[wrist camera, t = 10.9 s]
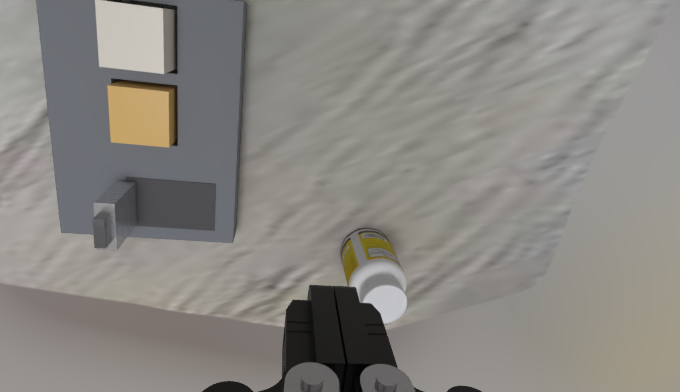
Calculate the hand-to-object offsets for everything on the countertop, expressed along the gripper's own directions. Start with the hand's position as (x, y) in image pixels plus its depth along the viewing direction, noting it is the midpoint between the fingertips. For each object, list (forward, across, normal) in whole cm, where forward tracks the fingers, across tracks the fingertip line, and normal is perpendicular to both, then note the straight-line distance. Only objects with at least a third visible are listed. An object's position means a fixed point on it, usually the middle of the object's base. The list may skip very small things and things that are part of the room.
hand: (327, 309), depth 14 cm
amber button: (+28, +13, 0) cm, 31 cm away
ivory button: (+27, +13, -6) cm, 31 cm away
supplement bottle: (+29, -8, +13) cm, 33 cm away
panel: (+29, +13, +1) cm, 32 cm away
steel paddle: (+26, +15, +8) cm, 31 cm away
